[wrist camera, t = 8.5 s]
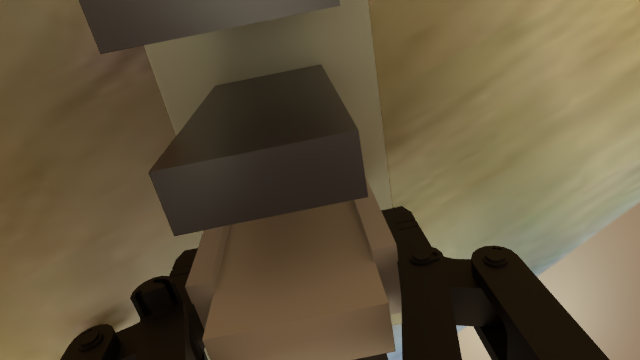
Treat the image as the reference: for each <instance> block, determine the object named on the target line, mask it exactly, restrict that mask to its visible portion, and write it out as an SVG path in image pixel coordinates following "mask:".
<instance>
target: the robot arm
mask: <svg viewBox="0 0 640 360" xmlns="http://www.w3.org/2000/svg"><path fill="white" fill-rule="evenodd" d="M365 178H366V176H365ZM366 185H367V192H368V197H366V198H361V199H356V200H353V203H354V206H355V209H356V212H357V214H358V217H359V220H360V223H361V226H362V229H363V232H364V235H365V238H366V241H367V244H368V247H369V250H370V253H371V256H372V259H373V262H375V264H376V267H377V270H378V273H379V276H380V279H381V282H382V285H383V287H384V290H385V293H386V296H387V299H388V302H389V308H390V315H392V314H397V313H402V356H403V360H462V358H461V353H460V347H459V340H458V336H457V329H456V325H462V326H474V328H475V330H476V332H477V334H478V336H479V337H480V339H481V341H482V343H483V345H484V346H485V348H486V350H487V352H488V354H489V355H490V357H491V359H492V360H609V359H608V358H607V356H606V355H605V354H604V353H603V352H602V351H601V349H600V348H599V347H598V346H597V345H596V344H595V343H594V342H593V340H592V339H591V338H590V337H589V336H588V335H587V334H586V332H585V331H584V330H583V329H582V328H581V327H580V326H579V325H578V323H577V322H576V321H575V320H574V319H573V318H572V317H571V315H570V314H569V313H568V312H567V311H566V310H565V309H564V308H563V306H562V305H561V304H560V303H559V302H558V301H557V299H556V298H555V297H554V296H553V295H552V294H551V293H550V292H549V290H548V289H547V288H546V287H545V286H544V285H543V284H542V282H541V281H540V280H539V279H538V278H537V277H536V276H535V274H534V273H533V272H532V271H531V270H530V269H529V268H528V267H527V265H526V264H525V263H524V262H523V261H522V260H521V259H520V257H519V256H518V255H517V254H515V253H514V252H513V251H512V250H509V249H507V248H504V247H500V246H485V247H482V248H479V249H477V250H476V251H475V252H473V254H472V257H471V259H451V258H447V257H444V256H443V254H442V252H440V251H439V250H438V249H436V248H433V247H431V245H430V243H429V242H428V240H427V238H426V237H425V235H424V233H423V232H422V230H421V228H420V227H419V225H418V223H417V221H415V218H414V216H413V215H412V213H411V212H410V211H409V210H407V209H405V208H404V207H402V206H401V207H396V208H391V209H386V210H381V209H380V207H379V205H378V203H377V200H376V198H375V196H374V194H373V192H372V189H371V187H370V185H369V183H368V181H367V178H366ZM230 226H231V225H227V226H222V227H217V228H212V229H207V230H204V233H203V235H202V238H201V241H200V244H199V247H198V248H196V249H191V250H186V251H184V252H183V253H182V254H181V255H180V256H179V257H178V258H177V259H176V261H175V264H174V266H173V268H172V269H173V270H172V271H171V273H170V276H159V277H155V278H152V279H150V280H148V281H145V282H144V283H143V284H141V285H140V286H138V287H137V288H136V289H135V290H134V292H133V293H132V295H131V300H132V302H133V304H134V306H135V308H136V310H137V312H138V314H139V316H140V322H139V323H137V324H135V325H133V326H131V327H128V328H126V329H124V330H121V331H119V332H117V333H116V332H115V331H114V329H113V327H112V326H110V325H108V324H102V325H97V326H94V327H91V328H89V329H87V330H85V331H84V332H82V333H81V334H80V335H78V336H77V337H76V338H75V339H74V340H73V341H72V342H71V344H70V345H69V346H68V348H67V349H66V351H65V353H64V354H63V356H62V358H61V359H60V360H208V359H207V356H206V354H205V352H204V348H205V345H204V343H203V340H202V339H203V335H204V331H205V327H206V323H207V318H208V314H209V310H210V306H211V302H212V298H213V295H214V294H215V290H216V286H217V281H218V277H219V273H220V269H221V264H222V260H223V256H224V252H225V247H226V243H227V239H228V235H229V230H230Z"/></svg>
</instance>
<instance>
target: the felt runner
mask: <svg viewBox="0 0 640 360" xmlns="http://www.w3.org/2000/svg"><path fill="white" fill-rule="evenodd" d="M144 48H145V51H146V54H147V56H148V59H149V62H150V65H151V68H152V70H153V73H154V76H155V79H156V82H157V84H158V87H159V90H160V93H161V96H162V98H163V101H164V104H165V107H166V110H167V112H168V115H169V118H170V121H171V124H172V126H173V129H174V132H175V135H176V136H177V134H178V133H179V132H180V131H181V129H182V128H183V127H184V125H185V124H186V123H187V121H188V120H189V119H190V118H191V116H192V115H193V114H194V112H195V111H196V110H197V108H198V107H199V106H200V105H201V103H202V102H203V101H204V99H205V98H206V97H207V95H208V94H209V93H210V91H211V90H212V89H213V88H214V86H216V85H221V84H226V83H231V82H236V81H241V80H246V79H251V78H255V77H260V76H265V75H270V74H275V73H280V72H285V71H290V70H295V69H300V68H305V67H310V66H315V65H320V64H321V65H322V67H323V68H324V70H325V72H326V74H327V75H328V77H329V79H330V81H331V82H332V84H333V86H334V88H335V89H336V91H337V93H338V95H339V97H340V98H341V100H342V102H343V104H344V105H345V107H346V109H347V111H348V112H349V114H350V116H351V118H352V119H353V121H354V123H355V125H356V127H357V128H358V130H359V137H360V144H361V151H362V157H363V164H364V171H365V176H366V178H367V181H368V183H369V185H370V187H371V189H372V192H373V194H374V196H375V198H376V200H377V203H378V205H379V207H380V209H381V210H386V209H391V208H393V207H392V199H391V190H390V182H389V173H388V165H387V156H386V148H385V140H384V131H383V123H382V114H381V106H380V97H379V89H378V80H377V72H376V63H375V55H374V46H373V38H372V29H371V21H370V12H369V4H368V0H340V6H337V7H332V8H327V9H322V10H317V11H312V12H307V13H302V14H297V15H292V16H287V17H282V18H278V19H273V20H268V21H263V22H258V23H253V24H248V25H243V26H238V27H233V28H228V29H223V30H218V31H213V32H208V33H203V34H198V35H193V36H188V37H183V38H178V39H173V40H168V41H163V42H158V43H153V44H148V45H144ZM391 322H392V325H397V324H402V313H397V314H392V315H391Z"/></svg>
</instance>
